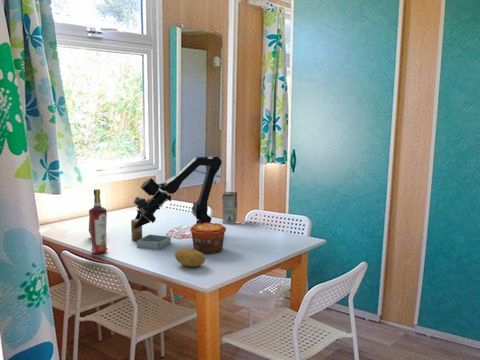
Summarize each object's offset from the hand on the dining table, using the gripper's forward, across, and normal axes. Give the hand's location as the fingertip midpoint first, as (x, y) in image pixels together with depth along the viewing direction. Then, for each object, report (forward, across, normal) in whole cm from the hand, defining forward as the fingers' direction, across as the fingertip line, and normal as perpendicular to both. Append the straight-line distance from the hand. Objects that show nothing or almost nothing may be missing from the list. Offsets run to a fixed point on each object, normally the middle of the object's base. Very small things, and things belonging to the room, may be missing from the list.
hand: (133, 226), depth 232 cm
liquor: (+17, +14, -8) cm, 23 cm away
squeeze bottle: (+16, -11, -6) cm, 20 cm away
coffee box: (-34, -16, +44) cm, 58 cm away
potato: (-5, +44, +15) cm, 47 cm away
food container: (-15, +27, +25) cm, 40 cm away
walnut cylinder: (+4, 0, +6) cm, 7 cm away
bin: (0, +12, +10) cm, 15 cm away
